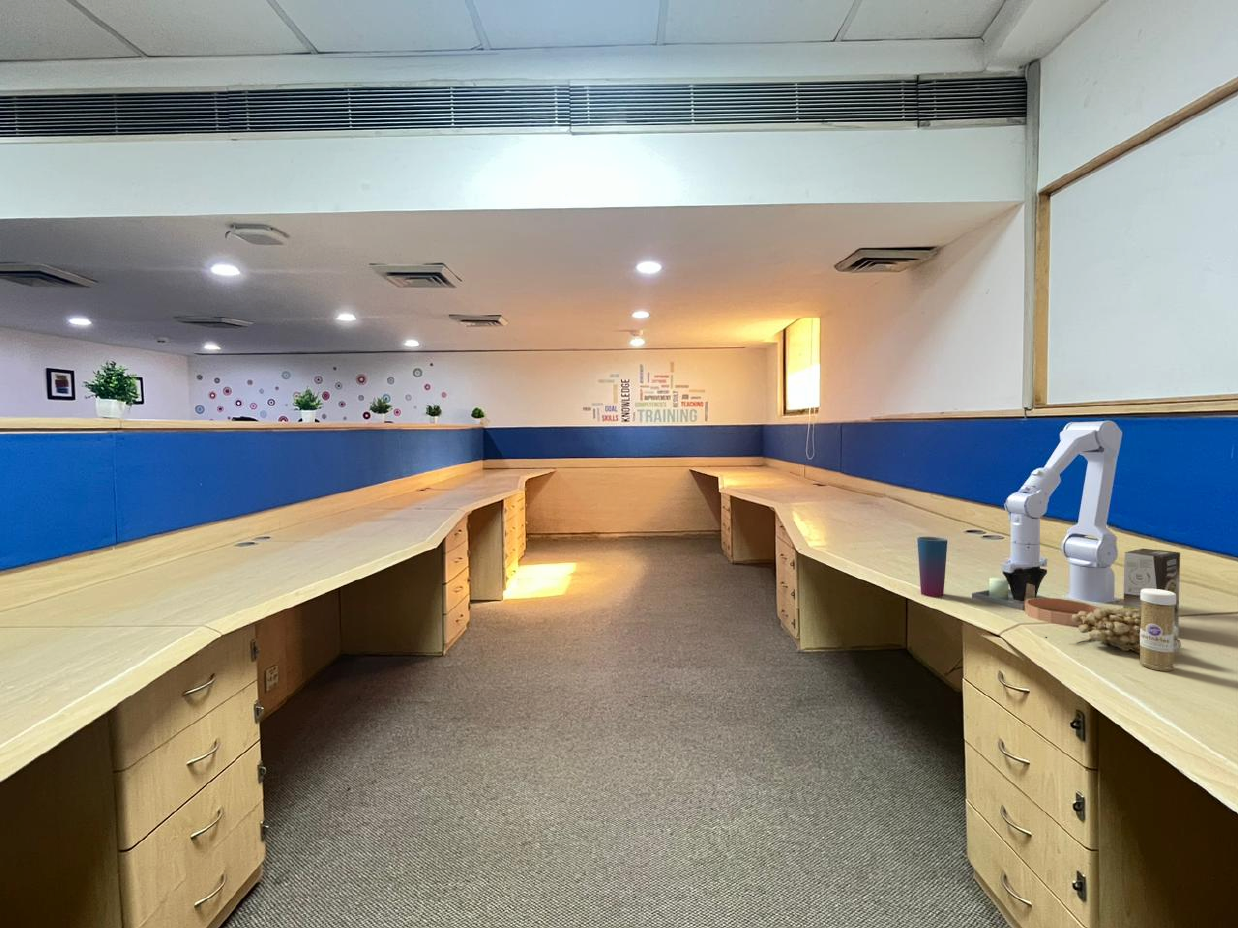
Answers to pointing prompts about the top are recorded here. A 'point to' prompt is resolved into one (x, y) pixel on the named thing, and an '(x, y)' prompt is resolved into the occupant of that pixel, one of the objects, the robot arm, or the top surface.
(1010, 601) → the tray
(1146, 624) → the sprinkles bottle
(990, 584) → the mint green rounded cylinder
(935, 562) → the cup
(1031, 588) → the beige rounded cylinder
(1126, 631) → the mineral formation
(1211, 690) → the top surface
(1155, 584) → the coffee box
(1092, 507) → the robot arm
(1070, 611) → the bowl
